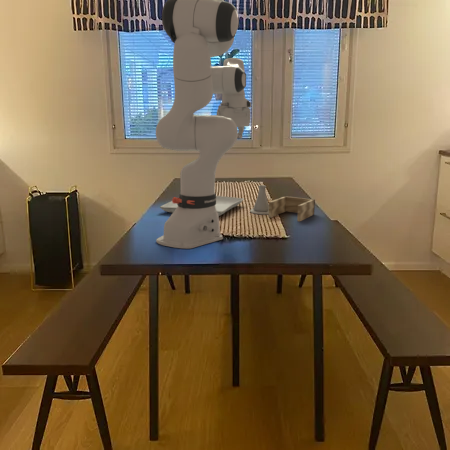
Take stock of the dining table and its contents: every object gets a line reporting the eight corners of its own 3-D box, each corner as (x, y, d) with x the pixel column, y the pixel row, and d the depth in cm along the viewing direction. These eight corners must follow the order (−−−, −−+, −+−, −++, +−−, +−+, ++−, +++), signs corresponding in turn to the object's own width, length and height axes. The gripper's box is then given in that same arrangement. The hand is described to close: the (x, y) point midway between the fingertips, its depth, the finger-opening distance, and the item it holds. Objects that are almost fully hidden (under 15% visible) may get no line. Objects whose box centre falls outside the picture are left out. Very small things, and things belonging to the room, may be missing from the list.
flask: (269, 212, 185) (269, 187, 182) (251, 211, 187) (251, 187, 184) (271, 208, 192) (272, 184, 189) (254, 207, 193) (255, 184, 191)
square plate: (188, 201, 211) (188, 193, 210) (245, 206, 201) (245, 197, 200) (159, 214, 186) (158, 205, 185) (222, 220, 177) (222, 210, 176)
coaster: (267, 215, 182) (267, 214, 182) (245, 212, 187) (245, 211, 187) (279, 210, 190) (279, 209, 190) (257, 208, 195) (257, 206, 195)
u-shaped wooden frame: (299, 221, 173) (300, 205, 171) (268, 217, 180) (269, 202, 178) (314, 214, 184) (314, 199, 183) (284, 210, 191) (285, 196, 190)
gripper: (225, 102, 170) (226, 141, 173) (253, 102, 186) (252, 137, 190) (211, 102, 173) (212, 140, 176) (239, 103, 190) (239, 137, 193)
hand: (233, 139), depth 183 cm, fingers open, 8 cm apart
